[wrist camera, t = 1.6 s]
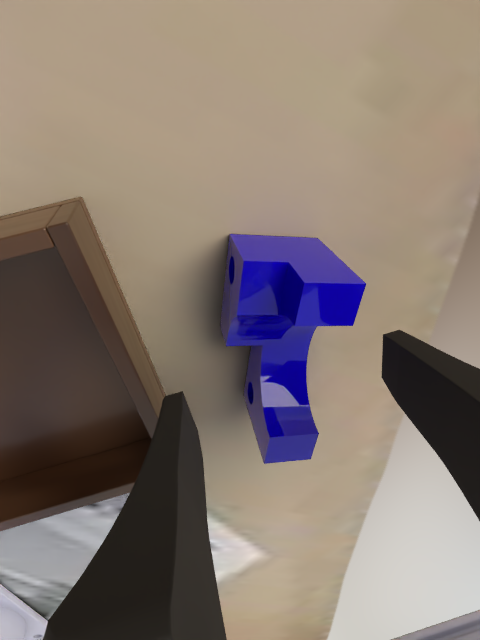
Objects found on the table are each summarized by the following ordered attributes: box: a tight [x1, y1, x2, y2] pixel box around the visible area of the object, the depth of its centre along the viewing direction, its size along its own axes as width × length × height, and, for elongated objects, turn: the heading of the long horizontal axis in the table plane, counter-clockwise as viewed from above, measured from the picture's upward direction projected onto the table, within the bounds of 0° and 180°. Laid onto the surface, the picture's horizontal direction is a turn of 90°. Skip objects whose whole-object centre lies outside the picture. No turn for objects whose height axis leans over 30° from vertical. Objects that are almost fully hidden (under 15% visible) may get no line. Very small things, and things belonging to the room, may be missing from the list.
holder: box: [0, 197, 166, 531], centre depth 14 cm, size 10×12×3 cm
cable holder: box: [220, 234, 366, 464], centre depth 15 cm, size 8×4×4 cm, turn 173°
